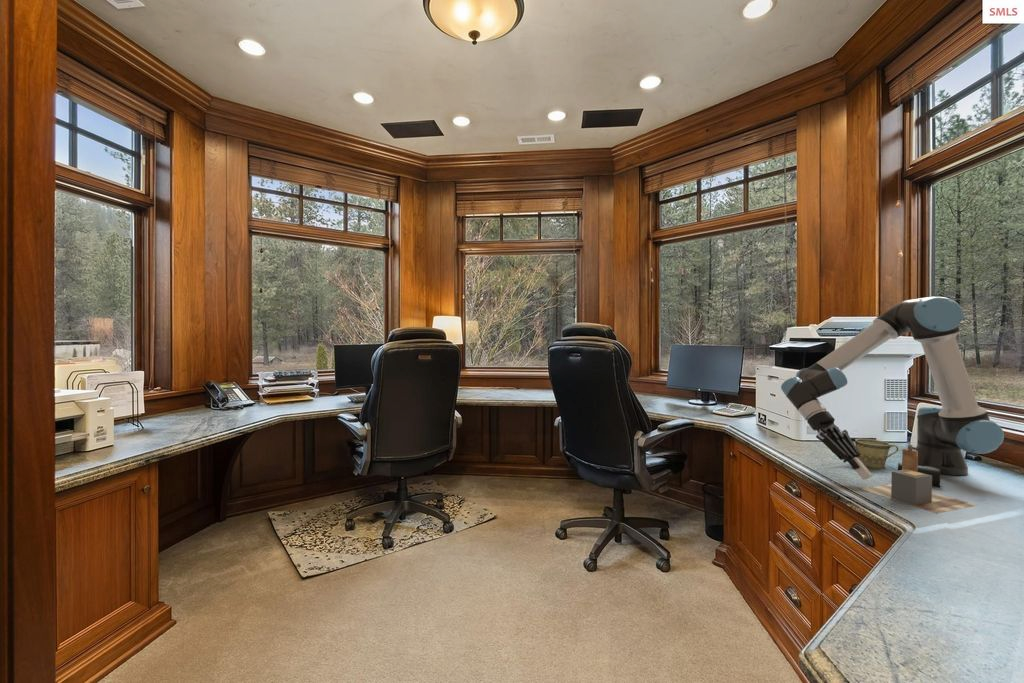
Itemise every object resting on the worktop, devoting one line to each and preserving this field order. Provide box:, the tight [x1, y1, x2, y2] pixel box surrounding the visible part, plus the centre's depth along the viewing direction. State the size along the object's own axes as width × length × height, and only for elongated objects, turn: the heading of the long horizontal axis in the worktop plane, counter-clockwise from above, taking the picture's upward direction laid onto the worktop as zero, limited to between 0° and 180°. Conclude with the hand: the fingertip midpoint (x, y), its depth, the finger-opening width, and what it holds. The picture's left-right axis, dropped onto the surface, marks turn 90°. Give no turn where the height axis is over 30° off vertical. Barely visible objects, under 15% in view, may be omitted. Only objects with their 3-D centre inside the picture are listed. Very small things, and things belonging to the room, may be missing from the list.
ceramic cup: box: [854, 438, 899, 469], centre depth 157 cm, size 13×10×10 cm
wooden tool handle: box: [901, 444, 918, 472], centre depth 134 cm, size 4×4×14 cm
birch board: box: [861, 483, 977, 514], centre depth 127 cm, size 18×19×1 cm
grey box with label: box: [890, 469, 933, 506], centre depth 124 cm, size 7×6×8 cm
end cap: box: [897, 462, 941, 488], centre depth 140 cm, size 10×7×7 cm
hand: (867, 477), depth 135 cm, fingers closed
